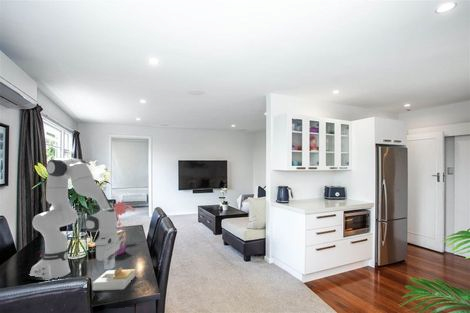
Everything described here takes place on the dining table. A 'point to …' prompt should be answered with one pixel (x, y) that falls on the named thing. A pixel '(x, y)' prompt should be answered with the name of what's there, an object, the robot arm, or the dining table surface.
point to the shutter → (122, 273)
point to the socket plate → (112, 281)
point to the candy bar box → (121, 242)
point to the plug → (110, 262)
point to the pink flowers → (121, 210)
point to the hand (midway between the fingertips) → (109, 263)
